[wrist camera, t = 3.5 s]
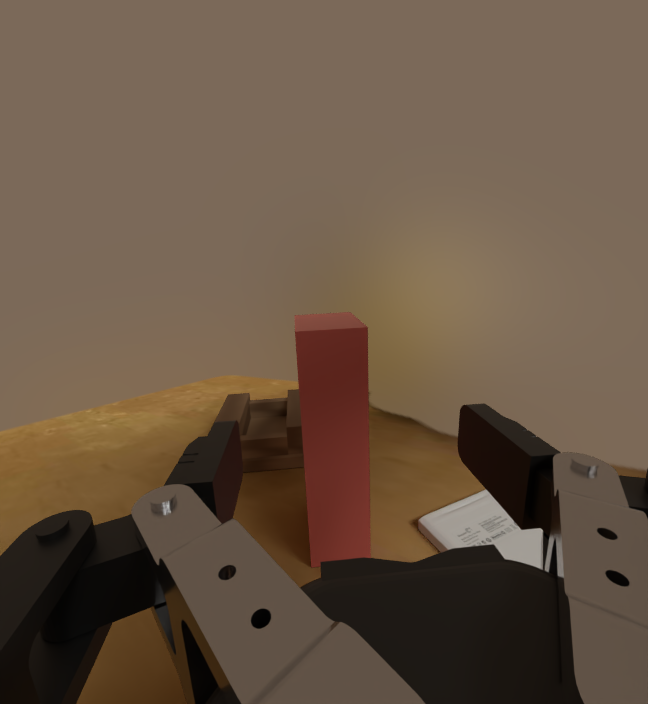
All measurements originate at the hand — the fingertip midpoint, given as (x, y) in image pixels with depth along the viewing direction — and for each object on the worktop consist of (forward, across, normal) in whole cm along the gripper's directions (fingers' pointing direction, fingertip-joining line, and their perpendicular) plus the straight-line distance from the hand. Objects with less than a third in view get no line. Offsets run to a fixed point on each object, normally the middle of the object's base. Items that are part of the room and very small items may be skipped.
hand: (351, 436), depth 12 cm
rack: (+24, +6, +13) cm, 28 cm away
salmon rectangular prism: (+10, 0, +13) cm, 17 cm away
